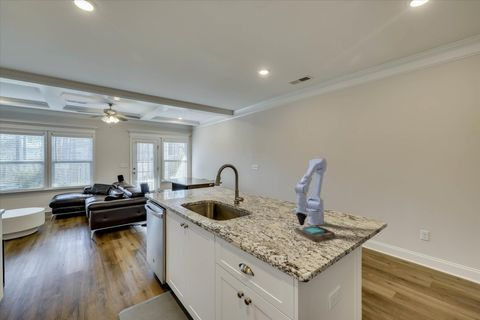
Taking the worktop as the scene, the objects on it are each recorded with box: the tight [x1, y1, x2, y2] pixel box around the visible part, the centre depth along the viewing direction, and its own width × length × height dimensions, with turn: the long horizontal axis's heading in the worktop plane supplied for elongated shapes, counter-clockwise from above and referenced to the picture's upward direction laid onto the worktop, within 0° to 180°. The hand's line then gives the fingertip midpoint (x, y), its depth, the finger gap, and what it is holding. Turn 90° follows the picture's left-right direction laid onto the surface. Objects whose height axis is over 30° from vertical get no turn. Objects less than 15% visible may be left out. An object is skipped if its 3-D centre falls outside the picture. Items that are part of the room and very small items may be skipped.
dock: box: [294, 225, 336, 242], centre depth 118 cm, size 15×15×2 cm
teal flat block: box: [301, 224, 325, 236], centre depth 119 cm, size 10×8×4 cm
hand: (301, 225), depth 128 cm, fingers closed
